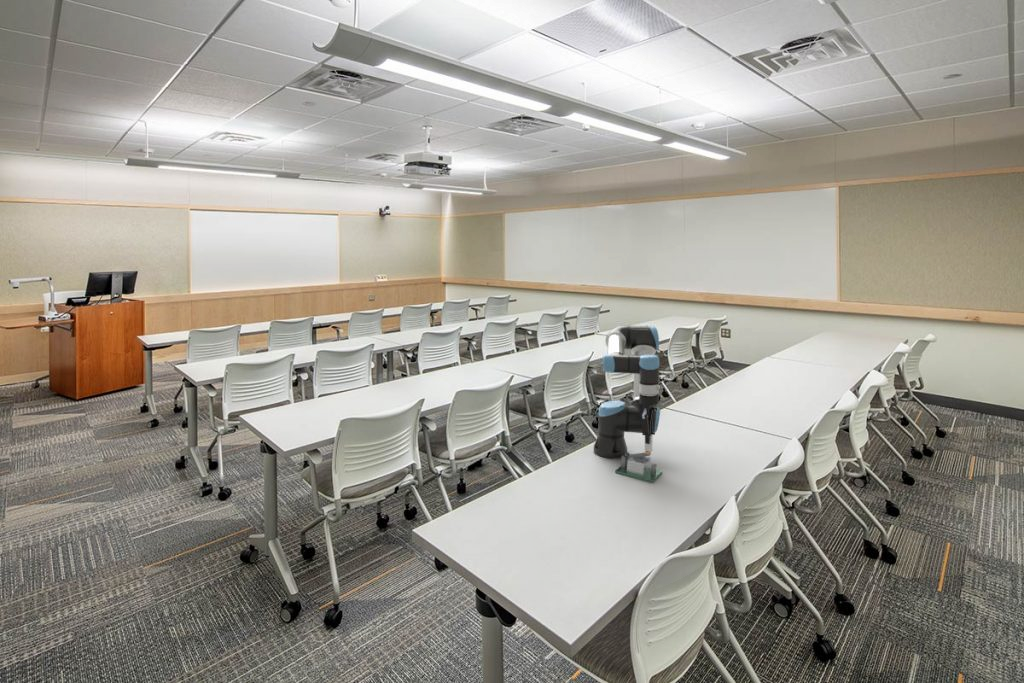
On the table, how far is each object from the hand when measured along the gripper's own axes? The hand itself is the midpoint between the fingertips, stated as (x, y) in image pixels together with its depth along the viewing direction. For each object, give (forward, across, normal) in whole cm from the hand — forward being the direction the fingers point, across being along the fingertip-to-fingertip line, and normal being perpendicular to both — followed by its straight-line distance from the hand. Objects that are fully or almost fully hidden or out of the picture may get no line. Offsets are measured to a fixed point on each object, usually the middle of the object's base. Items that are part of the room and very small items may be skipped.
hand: (648, 450), depth 210 cm
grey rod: (+4, 0, +5) cm, 6 cm away
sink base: (+11, 0, +4) cm, 11 cm away
